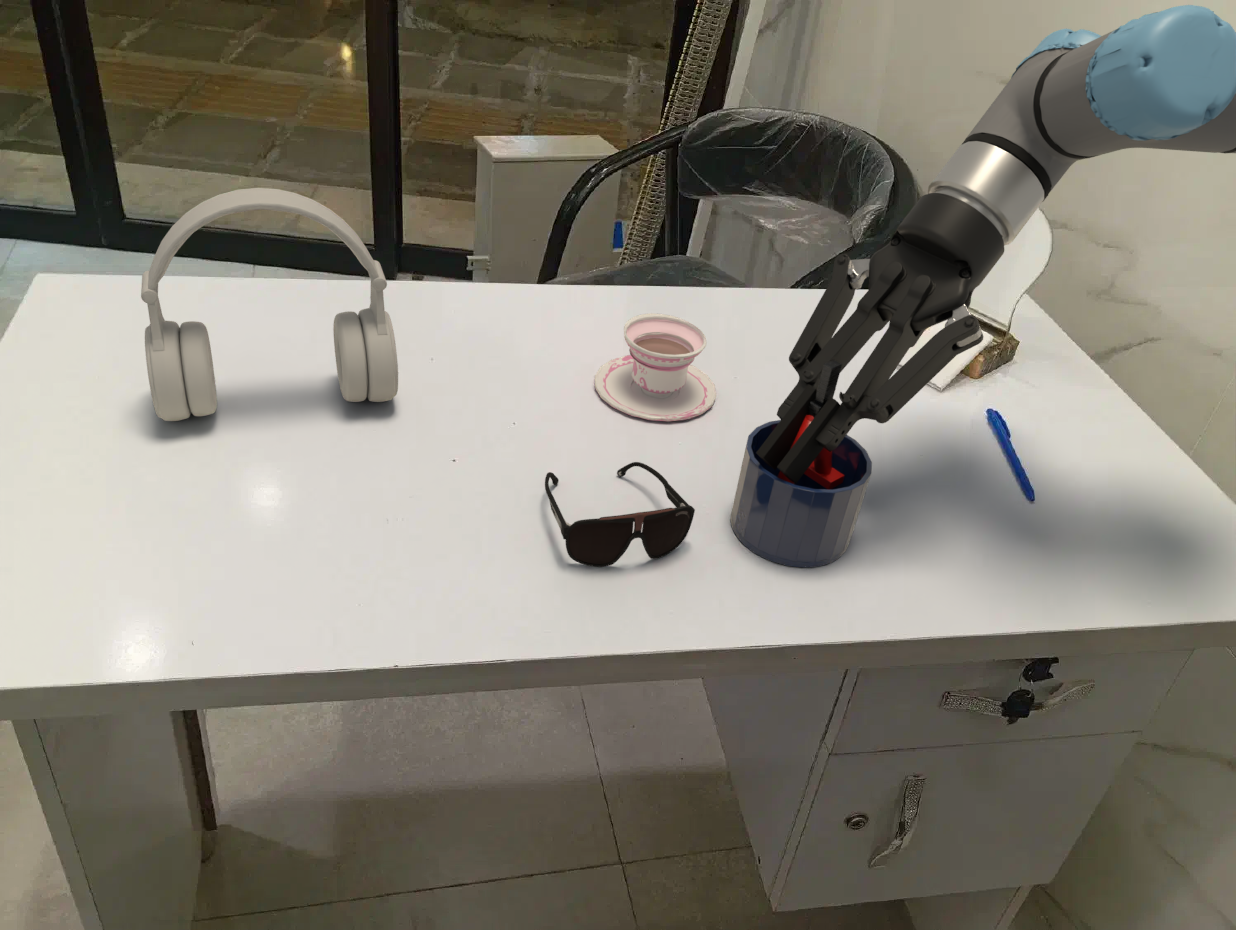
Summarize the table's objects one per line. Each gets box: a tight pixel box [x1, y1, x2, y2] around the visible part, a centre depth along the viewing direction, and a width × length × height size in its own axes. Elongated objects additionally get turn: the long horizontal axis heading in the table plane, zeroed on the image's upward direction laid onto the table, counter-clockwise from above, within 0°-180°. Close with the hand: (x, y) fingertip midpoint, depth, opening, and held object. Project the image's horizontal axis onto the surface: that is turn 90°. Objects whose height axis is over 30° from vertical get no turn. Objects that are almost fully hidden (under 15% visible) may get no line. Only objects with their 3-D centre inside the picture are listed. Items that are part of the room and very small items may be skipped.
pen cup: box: [730, 419, 873, 568], centre depth 80 cm, size 10×10×8 cm
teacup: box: [594, 312, 717, 422], centre depth 96 cm, size 12×12×6 cm
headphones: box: [140, 187, 399, 422], centre depth 83 cm, size 20×8×19 cm, turn 109°
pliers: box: [778, 360, 845, 490], centre depth 76 cm, size 3×7×12 cm, turn 131°
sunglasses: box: [544, 461, 696, 568], centre depth 79 cm, size 10×12×5 cm
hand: (776, 468), depth 75 cm, fingers closed on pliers, 1 cm apart
